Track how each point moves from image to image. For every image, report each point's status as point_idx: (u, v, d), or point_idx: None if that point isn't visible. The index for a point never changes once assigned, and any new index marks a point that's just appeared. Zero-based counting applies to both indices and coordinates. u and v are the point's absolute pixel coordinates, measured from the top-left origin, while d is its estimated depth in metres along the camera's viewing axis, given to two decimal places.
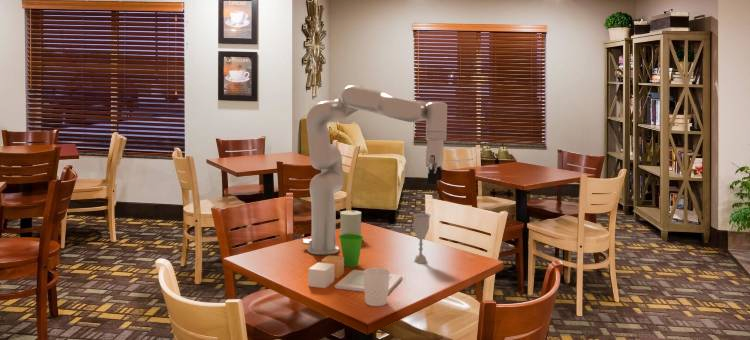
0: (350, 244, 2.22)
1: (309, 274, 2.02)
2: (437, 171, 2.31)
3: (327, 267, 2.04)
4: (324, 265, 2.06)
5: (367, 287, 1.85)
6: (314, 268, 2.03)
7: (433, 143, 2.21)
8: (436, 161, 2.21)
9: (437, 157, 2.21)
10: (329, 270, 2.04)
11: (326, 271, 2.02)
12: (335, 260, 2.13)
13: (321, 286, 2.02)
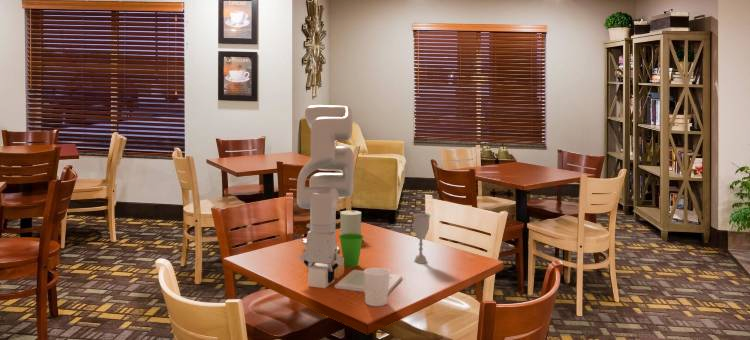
0: (350, 244, 2.22)
1: (309, 273, 2.02)
2: None
3: (327, 267, 2.04)
4: (324, 265, 2.06)
5: (367, 287, 1.85)
6: (314, 268, 2.03)
7: (334, 236, 2.02)
8: None
9: (336, 250, 2.04)
10: None
11: (326, 271, 2.02)
12: (335, 260, 2.13)
13: (321, 286, 2.02)
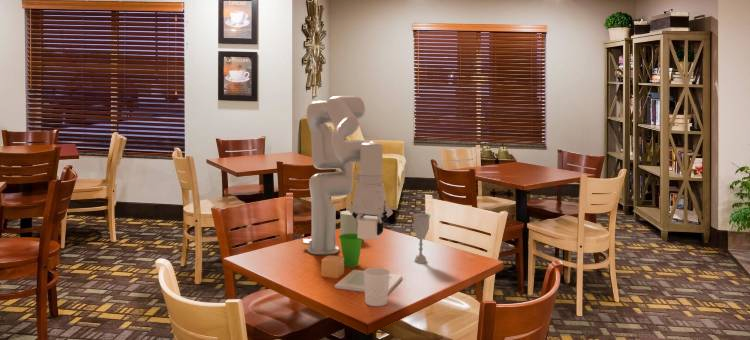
0: (350, 244, 2.22)
1: (358, 225, 2.01)
2: None
3: (376, 219, 2.03)
4: (372, 217, 2.05)
5: (367, 287, 1.85)
6: (363, 219, 2.02)
7: (383, 187, 2.01)
8: None
9: None
10: None
11: (375, 222, 2.00)
12: (335, 260, 2.13)
13: (370, 237, 2.00)
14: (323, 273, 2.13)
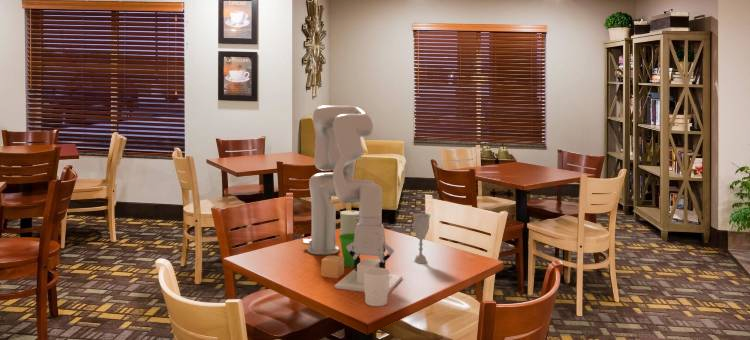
0: None
1: (358, 269, 2.03)
2: (358, 260, 2.07)
3: (375, 263, 2.05)
4: (372, 261, 2.07)
5: (367, 287, 1.85)
6: (363, 264, 2.04)
7: (383, 228, 2.03)
8: None
9: None
10: (377, 266, 2.05)
11: (375, 267, 2.02)
12: (335, 260, 2.13)
13: None
14: (323, 273, 2.13)
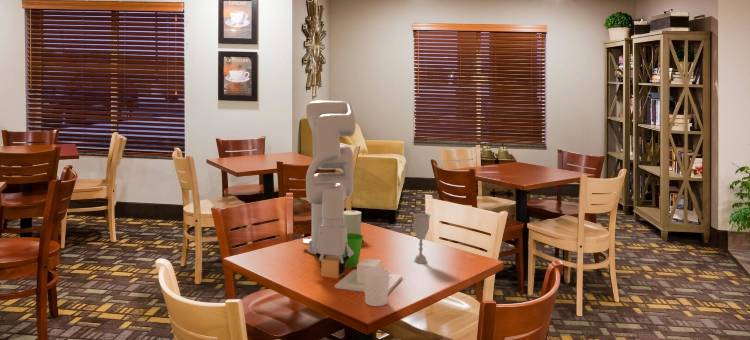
0: (350, 244, 2.22)
1: (358, 269, 2.03)
2: None
3: (375, 263, 2.05)
4: (372, 261, 2.07)
5: (367, 287, 1.85)
6: (363, 264, 2.04)
7: (345, 229, 2.12)
8: None
9: (347, 242, 2.14)
10: (377, 266, 2.05)
11: (375, 267, 2.02)
12: (335, 259, 2.13)
13: None
14: (323, 273, 2.13)
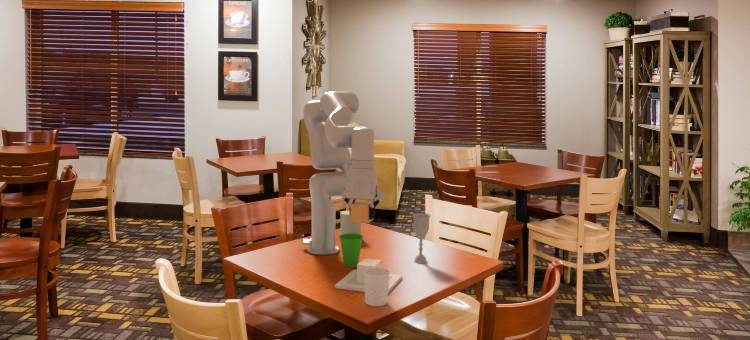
0: (350, 244, 2.22)
1: (358, 269, 2.03)
2: None
3: (375, 263, 2.05)
4: (372, 261, 2.07)
5: (367, 287, 1.85)
6: (363, 264, 2.04)
7: (375, 172, 2.02)
8: None
9: None
10: (377, 266, 2.05)
11: (375, 267, 2.02)
12: (364, 204, 2.03)
13: None
14: (352, 218, 2.03)
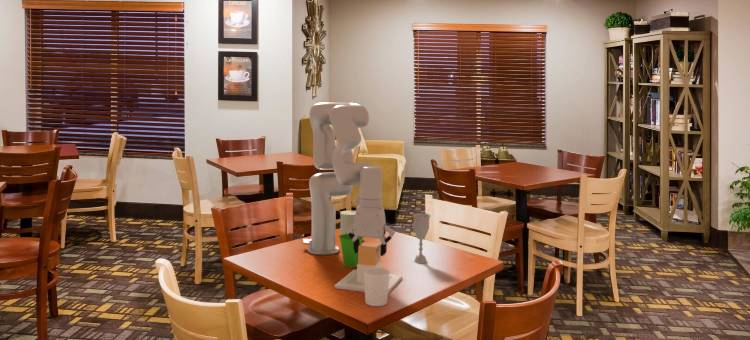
0: (350, 244, 2.22)
1: (358, 269, 2.03)
2: (358, 242, 2.06)
3: None
4: None
5: (367, 287, 1.85)
6: (363, 264, 2.04)
7: (383, 210, 2.02)
8: None
9: None
10: (377, 266, 2.05)
11: (375, 267, 2.02)
12: (372, 246, 2.03)
13: None
14: (360, 260, 2.04)
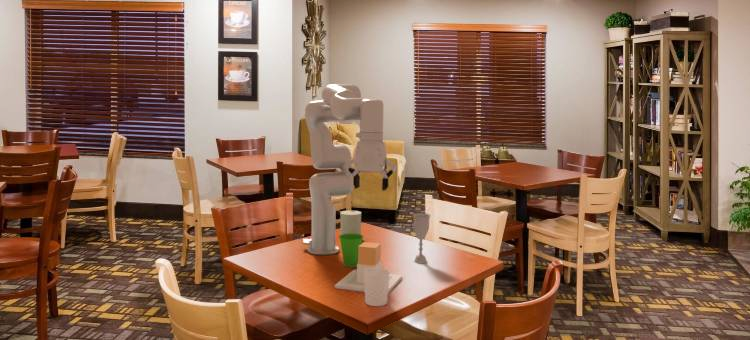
0: (350, 244, 2.22)
1: (358, 269, 2.03)
2: (358, 178, 2.03)
3: None
4: None
5: (367, 287, 1.85)
6: (363, 264, 2.04)
7: (384, 144, 1.99)
8: None
9: None
10: (377, 266, 2.05)
11: (375, 267, 2.02)
12: (372, 246, 2.03)
13: None
14: (360, 260, 2.04)
